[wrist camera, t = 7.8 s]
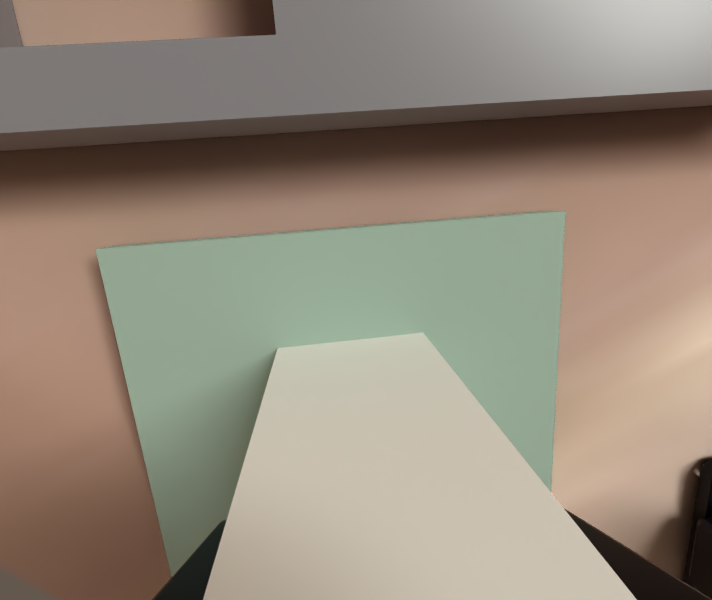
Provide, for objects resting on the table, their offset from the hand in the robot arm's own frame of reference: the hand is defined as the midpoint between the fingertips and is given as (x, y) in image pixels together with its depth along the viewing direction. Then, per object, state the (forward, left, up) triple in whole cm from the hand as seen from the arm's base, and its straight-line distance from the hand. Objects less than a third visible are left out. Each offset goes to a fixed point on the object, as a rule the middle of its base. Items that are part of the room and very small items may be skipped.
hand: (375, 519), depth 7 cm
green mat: (0, 0, -5) cm, 5 cm away
